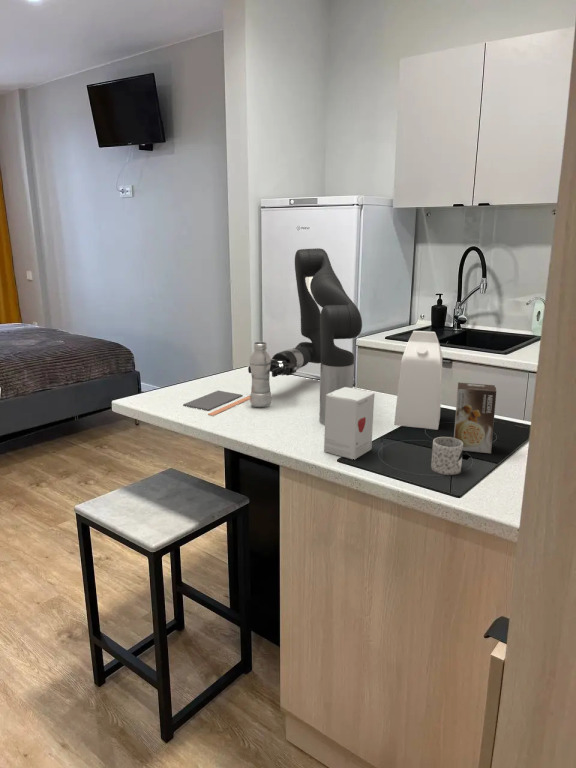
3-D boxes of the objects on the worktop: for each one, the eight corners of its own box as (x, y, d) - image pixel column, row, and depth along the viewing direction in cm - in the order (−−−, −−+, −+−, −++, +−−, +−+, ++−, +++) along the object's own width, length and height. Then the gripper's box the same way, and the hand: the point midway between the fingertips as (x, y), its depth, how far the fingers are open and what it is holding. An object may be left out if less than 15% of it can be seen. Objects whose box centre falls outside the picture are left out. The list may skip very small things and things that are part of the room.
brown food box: (489, 445, 142) (496, 384, 138) (491, 454, 136) (498, 391, 132) (452, 441, 145) (458, 381, 141) (452, 449, 139) (457, 388, 135)
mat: (242, 396, 183) (242, 394, 182) (208, 411, 168) (208, 409, 167) (218, 391, 187) (218, 390, 187) (183, 405, 172) (183, 404, 172)
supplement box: (354, 460, 132) (357, 400, 128) (323, 452, 137) (324, 394, 133) (372, 449, 139) (375, 392, 135) (342, 441, 144) (344, 385, 140)
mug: (464, 475, 125) (467, 447, 123) (435, 475, 125) (437, 447, 123) (451, 457, 134) (453, 431, 133) (424, 457, 134) (426, 431, 133)
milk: (440, 416, 164) (447, 329, 157) (437, 429, 153) (445, 336, 146) (398, 412, 167) (404, 327, 160) (394, 424, 157) (399, 334, 150)
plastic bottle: (271, 409, 169) (271, 345, 164) (249, 409, 169) (248, 345, 164) (272, 403, 175) (272, 341, 170) (250, 403, 175) (250, 340, 170)
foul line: (257, 395, 183) (257, 394, 183) (213, 416, 163) (213, 415, 163) (252, 394, 184) (252, 394, 184) (207, 414, 164) (207, 413, 164)
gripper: (269, 348, 185) (241, 357, 172) (306, 352, 179) (281, 362, 165) (269, 369, 187) (242, 380, 174) (306, 375, 181) (281, 387, 167)
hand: (261, 371), depth 169 cm, fingers open, 8 cm apart
